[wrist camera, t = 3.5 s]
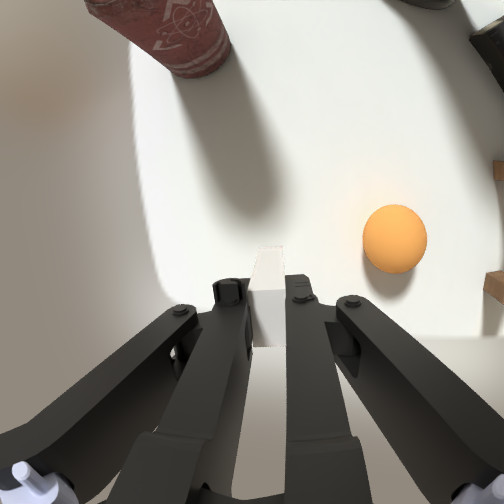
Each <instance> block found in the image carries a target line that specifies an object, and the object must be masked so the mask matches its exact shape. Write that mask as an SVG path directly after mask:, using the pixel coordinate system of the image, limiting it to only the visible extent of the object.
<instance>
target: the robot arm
mask: <svg viewBox="0 0 504 504" xmlns="http://www.w3.org/2000/svg"><path fill="white" fill-rule="evenodd" d="M402 1H404V2H407V3H410V4H413V5H416V6H419V7H423V8H428V9H443V8H446V7H448V6H449V5H450V4H452V3H453V2H454V1H455V0H402ZM212 286H213V292H214V299H215V304H214V307H213V309H212V311H209V312H204V313H198V314H197V311H196V307H194V306H193V305H185V304H181V305H180V304H179V305H176V306H174V307H172V308H170V309H168V310H167V311H165V312H164V313H163V314H162V315H160V316H159V317H158V318H157V319H155V320H154V321H153V322H152V323H150V324H149V325H148V326H147V327H145V328H144V329H143V330H142V331H140V332H139V333H138V334H136V335H135V336H134V337H133V338H131V339H130V340H129V341H128V342H127V343H125V344H124V345H123V346H122V347H120V348H119V349H118V350H117V351H115V352H114V353H113V354H112V355H110V356H109V357H108V358H107V359H105V360H104V361H103V362H102V363H100V364H99V365H98V366H97V367H95V368H94V369H93V370H92V371H90V372H89V373H88V374H87V375H85V376H84V377H83V378H82V379H80V380H79V381H78V382H77V383H76V384H74V385H73V386H72V387H71V388H69V389H68V390H67V391H66V392H64V393H63V394H62V395H61V396H60V397H58V398H57V399H56V400H55V401H53V402H52V403H51V404H50V405H49V406H47V407H46V408H45V409H44V410H42V411H41V412H40V413H39V414H38V415H37V416H35V417H34V418H33V419H31V420H30V421H29V422H28V423H26V424H24V425H21V426H19V427H17V428H14V429H12V430H10V431H7V432H5V433H2V434H0V498H1V501H2V504H85V503H86V502H88V501H90V500H91V499H92V498H94V497H95V496H96V495H98V494H99V493H100V492H101V491H102V490H103V489H104V488H105V487H106V486H107V485H108V484H109V483H110V482H111V480H112V479H113V478H114V477H115V476H116V475H117V474H118V472H119V471H120V470H121V471H120V473H119V475H118V477H117V479H116V482H115V484H114V486H113V488H112V490H111V492H110V494H109V496H108V498H107V500H105V501H102V502H100V503H98V504H373V503H372V497H371V492H370V486H369V481H368V475H367V471H366V465H365V460H364V456H363V451H362V446H361V443H360V440H359V439H358V437H353V436H352V435H351V431H350V427H349V422H348V417H347V412H346V408H345V403H344V399H343V395H342V390H341V386H340V382H339V378H338V373H337V369H336V365H335V363H336V364H337V366H338V367H339V368H340V370H341V372H342V373H343V374H344V376H345V378H346V379H347V380H348V382H349V383H350V385H351V387H352V388H353V389H354V391H355V392H356V394H357V395H358V397H359V398H360V400H361V401H362V403H363V404H364V406H365V407H366V409H367V410H368V412H369V413H370V415H371V416H372V418H373V419H374V421H375V422H376V424H377V425H378V427H379V428H380V430H381V432H382V433H383V435H384V436H385V438H386V439H387V441H388V442H389V444H390V445H391V446H392V448H393V450H394V451H395V453H396V454H397V456H398V457H399V459H400V460H401V462H402V463H403V465H404V466H405V468H406V469H407V471H408V473H409V474H410V476H411V477H412V478H413V480H414V481H415V483H416V485H417V486H418V488H419V489H420V491H421V492H422V494H423V495H424V496H425V497H426V499H427V500H428V501H429V502H430V503H431V504H504V419H503V418H502V417H501V416H500V415H499V414H498V413H497V412H496V411H495V410H494V409H492V408H491V407H490V406H489V405H488V404H487V403H486V402H485V401H484V400H483V399H482V398H481V397H480V396H479V395H478V394H477V393H476V392H474V391H473V390H472V389H471V388H470V387H469V386H468V385H467V384H466V383H465V382H463V381H462V380H461V379H460V378H459V377H458V376H457V375H456V374H455V373H453V372H452V371H451V370H450V369H449V368H448V367H447V366H446V365H444V364H443V363H442V362H441V361H440V360H439V359H438V358H437V357H435V356H434V355H433V354H432V353H431V352H430V351H428V350H427V349H426V348H425V347H424V346H423V345H421V344H420V343H419V342H418V341H417V340H416V339H414V338H413V337H412V336H411V335H410V334H409V333H407V332H406V331H405V330H404V329H403V328H401V327H400V326H399V325H398V324H397V323H395V322H394V321H393V320H392V319H391V318H389V317H388V316H387V315H386V314H385V313H383V312H382V311H381V310H380V309H378V308H377V307H376V306H375V305H374V304H372V303H371V302H370V301H369V300H367V299H366V298H364V297H361V296H358V295H349V296H344V297H341V298H339V299H338V300H337V302H336V306H329V305H324V304H321V303H319V302H318V298H317V297H316V295H314V294H313V291H312V288H311V284H310V280H309V277H307V276H306V275H304V274H300V275H285V272H284V256H283V246H276V247H261V248H258V252H257V256H256V260H255V263H254V267H253V271H252V275H251V278H242V279H238V278H227V279H222V280H219V281H217V282H215V283H214V284H213V285H212ZM252 340H253V347H275V346H286V368H287V369H286V372H287V373H286V377H287V427H286V428H287V430H286V431H287V433H286V461H285V462H286V463H285V492H284V493H283V494H278V495H273V496H268V497H263V498H257V499H250V500H238V499H235V498H232V494H231V485H232V479H233V473H234V467H235V462H236V456H237V449H238V444H239V437H240V432H241V425H242V419H243V412H244V406H245V400H246V394H247V387H248V381H249V374H250V368H251V361H252V355H253V353H252ZM173 348H174V351H175V355H174V356H173V357H172V358H171V356H170V352H171V350H172V349H173ZM157 426H158V428H157V429H156V431H154V430H155V428H156V427H157ZM153 431H154V432H153ZM152 432H153V433H152Z"/></svg>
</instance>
